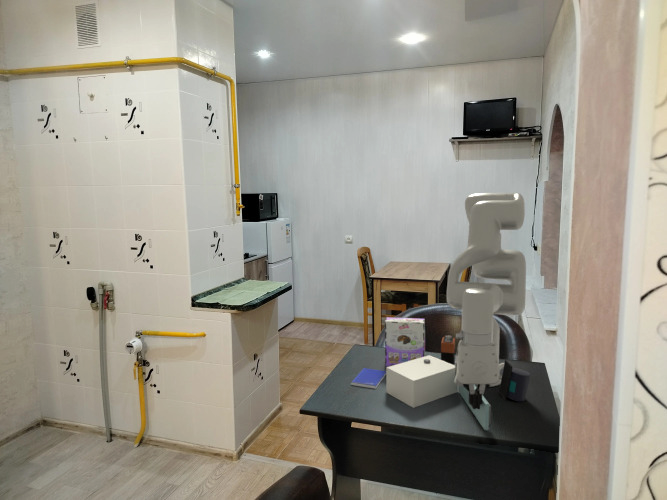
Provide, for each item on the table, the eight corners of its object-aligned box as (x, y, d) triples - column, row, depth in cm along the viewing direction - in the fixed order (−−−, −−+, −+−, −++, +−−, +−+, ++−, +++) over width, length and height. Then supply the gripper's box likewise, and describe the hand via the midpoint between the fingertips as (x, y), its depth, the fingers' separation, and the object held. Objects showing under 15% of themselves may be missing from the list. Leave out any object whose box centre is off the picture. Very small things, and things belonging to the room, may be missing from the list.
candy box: (424, 362, 161) (425, 318, 159) (424, 369, 156) (424, 322, 154) (386, 360, 165) (386, 316, 163) (384, 366, 159) (384, 320, 157)
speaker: (497, 399, 132) (502, 365, 130) (498, 392, 137) (503, 359, 136) (525, 406, 129) (531, 371, 128) (525, 398, 134) (530, 365, 133)
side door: (458, 390, 138) (458, 368, 137) (463, 390, 138) (464, 368, 137) (484, 430, 114) (485, 403, 113) (491, 430, 114) (492, 403, 113)
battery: (454, 362, 162) (455, 335, 160) (453, 369, 155) (454, 341, 154) (442, 360, 163) (442, 334, 162) (440, 367, 157) (440, 340, 155)
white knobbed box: (431, 377, 148) (432, 352, 147) (460, 390, 138) (460, 364, 137) (386, 392, 138) (386, 365, 137) (413, 407, 128) (413, 378, 127)
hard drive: (375, 385, 141) (386, 371, 152) (351, 381, 144) (363, 367, 155) (375, 390, 141) (386, 375, 152) (351, 386, 144) (363, 372, 155)
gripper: (450, 342, 110) (449, 413, 112) (512, 342, 110) (509, 414, 112) (443, 333, 118) (442, 400, 120) (501, 333, 117) (499, 400, 119)
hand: (475, 406), depth 116 cm, fingers closed
